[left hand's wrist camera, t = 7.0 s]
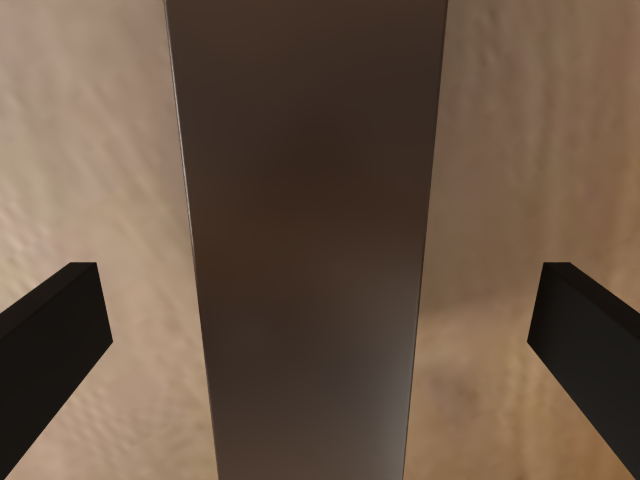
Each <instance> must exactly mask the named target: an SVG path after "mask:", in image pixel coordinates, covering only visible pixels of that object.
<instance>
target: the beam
mask: <svg viewBox="0 0 640 480" xmlns="http://www.w3.org/2000/svg"><path fill="white" fill-rule="evenodd" d="M447 7H448V0H164V9H165V17H166V26H167V35H168V44H169V52H170V61H171V70H172V78H173V87H174V96H175V105H176V113H177V122H178V131H179V140H180V148H181V157H182V166H183V174H184V183H185V192H186V201H187V209H188V218H189V227H190V236H191V244H192V253H193V262H194V270H195V279H196V288H197V297H198V305H199V314H200V323H201V332H202V340H203V349H204V358H205V366H206V375H207V384H208V393H209V401H210V410H211V419H212V428H213V436H214V445H215V454H216V462H217V471H218V480H403V474H404V464H405V453H406V442H407V432H408V421H409V411H410V400H411V389H412V379H413V368H414V357H415V347H416V336H417V326H418V315H419V304H420V294H421V283H422V272H423V262H424V251H425V241H426V230H427V219H428V209H429V198H430V188H431V177H432V166H433V156H434V145H435V134H436V124H437V113H438V103H439V92H440V81H441V71H442V60H443V49H444V39H445V28H446V18H447Z"/></svg>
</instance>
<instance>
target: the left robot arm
mask: <svg viewBox="0 0 640 480" xmlns="http://www.w3.org/2000/svg"><path fill="white" fill-rule="evenodd" d="M112 343H113V339H112V335H111V330H110V325H109V320H108V315H107V311H106V306H105V301H104V296H103V292H102V287H101V282H100V277H99V273H98V268H97V263H96V262H70V263H69V264H67V265H66V266H65V267H63V268H62V269H61V270H59V271H58V272H56V273H55V274H54V275H52V276H51V277H50V278H48V279H47V280H45V281H44V282H43V283H41V284H40V285H39V286H37V287H36V288H35V289H33V290H32V291H30V292H29V293H28V294H26V295H25V296H24V297H22V298H21V299H19V300H18V301H17V302H15V303H14V304H13V305H11V306H10V307H9V308H7V309H6V310H4V311H3V312H2V313H0V480H4V479H5V478H6V477H7V476H8V474H9V473H10V472H11V470H12V469H13V468H14V467H15V465H16V464H17V463H18V462H19V460H20V459H21V458H22V457H23V455H24V454H25V453H26V451H27V450H28V449H29V448H30V446H31V445H32V444H33V443H34V441H35V440H36V439H37V438H38V436H39V435H40V434H41V432H42V431H43V430H44V429H45V427H46V426H47V425H48V424H49V422H50V421H51V420H52V419H53V417H54V416H55V415H56V413H57V412H58V411H59V410H60V408H61V407H62V406H63V405H64V403H65V402H66V401H67V400H68V398H69V397H70V396H71V394H72V393H73V392H74V391H75V389H76V388H77V387H78V386H79V384H80V383H81V382H82V381H83V379H84V378H85V377H86V376H87V374H88V373H89V372H90V370H91V369H92V368H93V367H94V365H95V364H96V363H97V362H98V360H99V359H100V358H101V357H102V355H103V354H104V353H105V351H106V350H107V349H108V348H109V346H110V345H111V344H112ZM527 343H528V344H529V345H530V346H531V348H532V349H533V350H534V351H535V353H536V354H537V355H538V357H539V358H540V359H541V360H542V362H543V363H544V364H545V365H546V367H547V368H548V369H549V370H550V372H551V373H552V374H553V376H554V377H555V378H556V379H557V381H558V382H559V383H560V384H561V386H562V387H563V388H564V389H565V391H566V392H567V393H568V395H569V396H570V397H571V398H572V400H573V401H574V402H575V403H576V405H577V406H578V407H579V408H580V410H581V411H582V412H583V414H584V415H585V416H586V417H587V419H588V420H589V421H590V422H591V424H592V425H593V426H594V427H595V429H596V430H597V431H598V433H599V434H600V435H601V436H602V438H603V439H604V440H605V441H606V443H607V444H608V445H609V446H610V448H611V449H612V450H613V452H614V453H615V454H616V455H617V457H618V458H619V459H620V460H621V462H622V463H623V464H624V465H625V467H626V468H627V469H628V470H629V472H630V473H631V474H632V476H633V477H634V478H635V479H636V480H640V313H638V312H637V311H636V310H634V309H633V308H631V307H630V306H629V305H627V304H626V303H625V302H623V301H622V300H621V299H619V298H618V297H616V296H615V295H614V294H612V293H611V292H610V291H608V290H607V289H605V288H604V287H603V286H601V285H600V284H599V283H597V282H596V281H595V280H593V279H592V278H590V277H589V276H588V275H586V274H585V273H584V272H582V271H581V270H579V269H578V268H577V267H575V266H574V265H573V264H571V263H570V262H544V263H543V268H542V273H541V277H540V282H539V287H538V292H537V296H536V301H535V306H534V311H533V315H532V320H531V325H530V330H529V335H528V339H527Z"/></svg>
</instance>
